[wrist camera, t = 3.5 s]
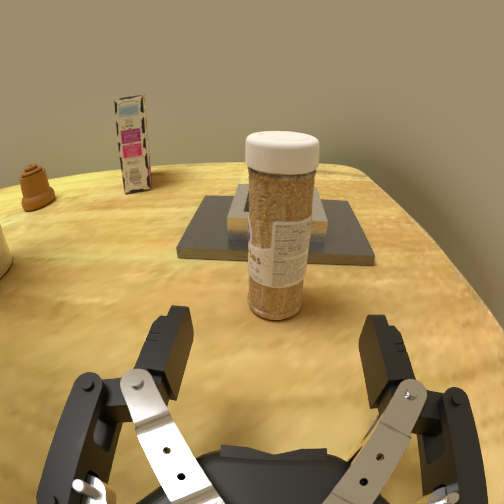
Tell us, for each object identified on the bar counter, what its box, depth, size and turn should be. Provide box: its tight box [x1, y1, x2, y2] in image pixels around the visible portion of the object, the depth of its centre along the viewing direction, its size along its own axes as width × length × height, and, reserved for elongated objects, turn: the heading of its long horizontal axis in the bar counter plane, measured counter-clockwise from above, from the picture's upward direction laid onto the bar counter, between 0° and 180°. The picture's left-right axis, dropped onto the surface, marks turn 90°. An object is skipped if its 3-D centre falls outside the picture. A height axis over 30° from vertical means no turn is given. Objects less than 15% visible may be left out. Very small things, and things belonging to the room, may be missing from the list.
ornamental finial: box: [19, 164, 55, 211], centre depth 44 cm, size 8×8×8 cm
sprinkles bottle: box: [245, 131, 320, 320], centre depth 21 cm, size 5×5×13 cm
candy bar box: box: [114, 95, 151, 194], centre depth 47 cm, size 11×5×16 cm, turn 18°
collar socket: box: [176, 184, 375, 266], centre depth 34 cm, size 20×14×4 cm
